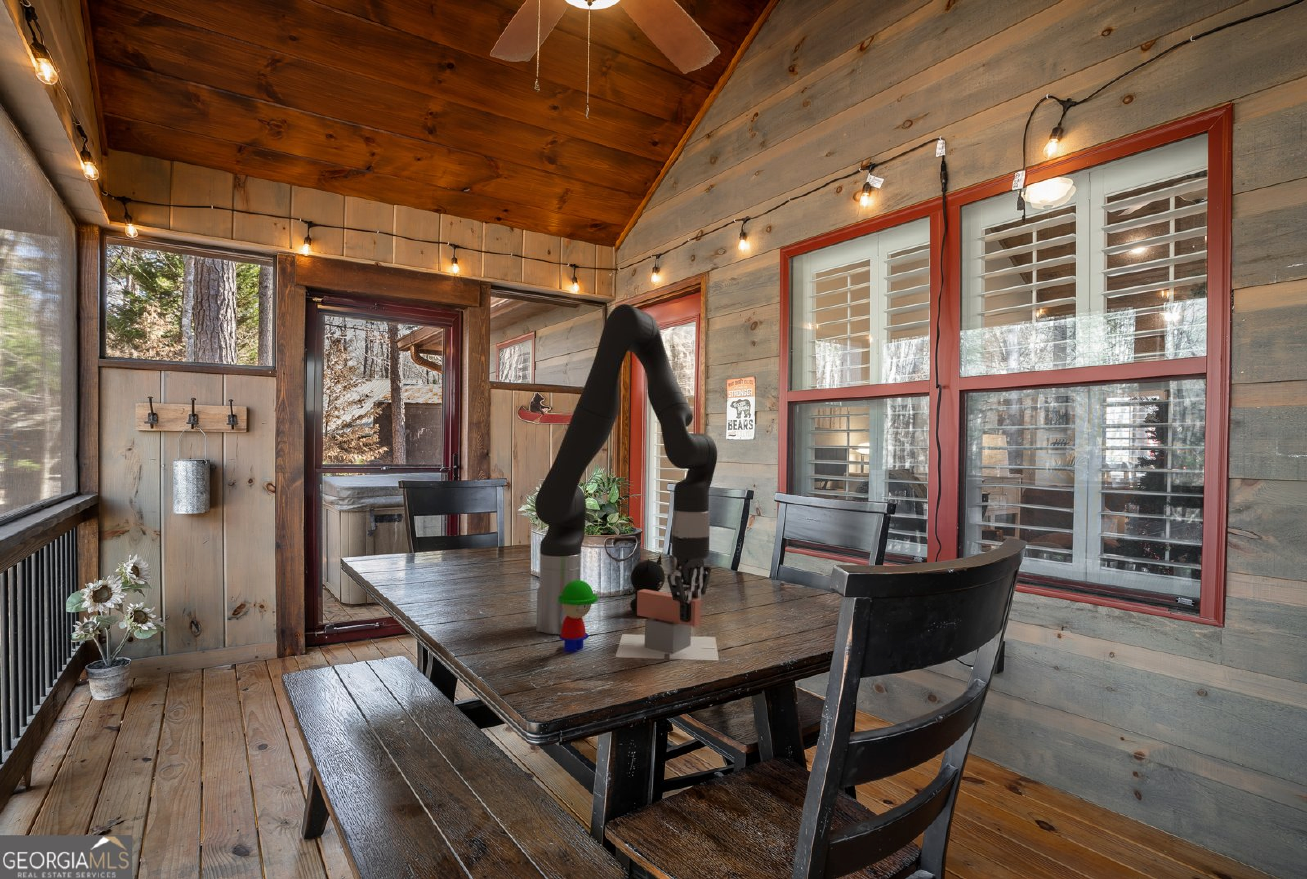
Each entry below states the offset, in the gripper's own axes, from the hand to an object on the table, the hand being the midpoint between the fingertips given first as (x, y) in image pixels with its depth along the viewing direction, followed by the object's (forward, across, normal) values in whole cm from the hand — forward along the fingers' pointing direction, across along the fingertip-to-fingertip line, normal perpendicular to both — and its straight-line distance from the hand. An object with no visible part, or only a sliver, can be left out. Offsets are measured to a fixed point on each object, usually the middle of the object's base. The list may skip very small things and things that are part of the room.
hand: (689, 619), depth 132 cm
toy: (+8, +13, -18) cm, 24 cm away
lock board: (+8, 0, -5) cm, 9 cm away
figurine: (+8, -25, -23) cm, 35 cm away
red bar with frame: (+6, 0, -5) cm, 8 cm away
